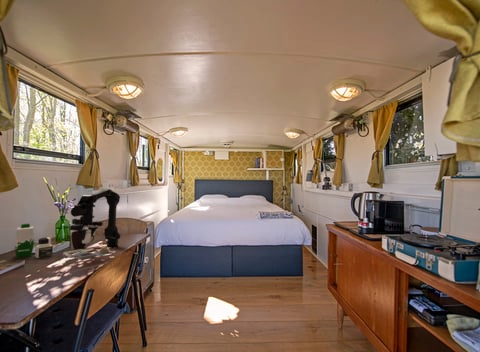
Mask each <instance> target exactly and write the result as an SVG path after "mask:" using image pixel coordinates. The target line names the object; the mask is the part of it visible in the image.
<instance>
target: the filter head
mask: <svg viewBox="0 0 480 352" xmlns="http://www.w3.org/2000/svg"><path fill="white" fill-rule="evenodd" d="M109 254H112V252H111V251H109V248H107V250H101V249H99V251H96V252H90V251H89V252H88V251H87V253H83V254H78V255H76V256H75V257H76V258H78V259H80V260H81V261H83V260H87V259H91V258H96V257H101V256H104V255H105V256H106V255H109Z"/></svg>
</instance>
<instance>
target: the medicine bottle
mask: <svg viewBox="0 0 480 352" xmlns="http://www.w3.org/2000/svg"><path fill="white" fill-rule="evenodd" d="M51 239H52V238H51V237H48V236H47V237H41V238H39V239H38V245H35V256H34V257H35V258H37V259H40V258H45V257H50V256H53V253H54V252H53V251H54V250H53V249H54V245H52V243H51V241H52V240H51Z"/></svg>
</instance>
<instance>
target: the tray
mask: <svg viewBox="0 0 480 352" xmlns="http://www.w3.org/2000/svg"><path fill="white" fill-rule="evenodd" d="M83 253H88V251H87V250H85V249H79V250H74V249H73V250H69V251H64V252H62V254H63V256H66V257H67V258H70V259H71V258H74V257H76V255H78V254H83Z"/></svg>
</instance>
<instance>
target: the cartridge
mask: <svg viewBox="0 0 480 352" xmlns="http://www.w3.org/2000/svg"><path fill="white" fill-rule="evenodd" d="M85 229H86V234H85V238H84V240H82V243H86V244H88V243H90V242H91V241H92V237H91V230H89V229H88V228H85ZM91 243H92V242H91ZM91 243H90V244H91Z"/></svg>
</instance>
